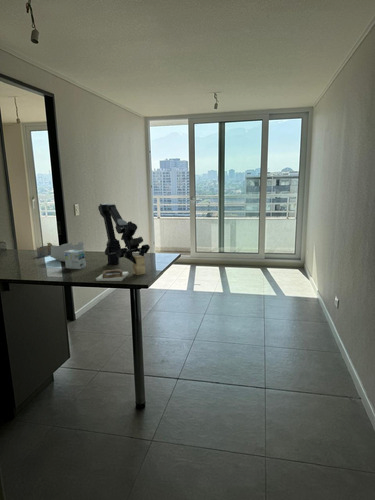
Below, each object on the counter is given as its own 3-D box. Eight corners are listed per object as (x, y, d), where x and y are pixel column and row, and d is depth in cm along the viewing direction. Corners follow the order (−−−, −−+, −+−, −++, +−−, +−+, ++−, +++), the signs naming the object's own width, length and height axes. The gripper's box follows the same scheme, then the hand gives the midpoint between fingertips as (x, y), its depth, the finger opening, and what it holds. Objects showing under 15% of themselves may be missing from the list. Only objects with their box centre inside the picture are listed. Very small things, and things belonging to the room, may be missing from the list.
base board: (96, 280, 175) (95, 278, 175) (105, 273, 189) (104, 271, 189) (121, 280, 174) (121, 278, 174) (128, 273, 187) (128, 271, 187)
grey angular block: (62, 264, 214) (60, 247, 212) (50, 260, 228) (48, 243, 225) (90, 259, 228) (89, 242, 226) (77, 255, 241) (75, 239, 239)
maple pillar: (133, 273, 188) (132, 256, 186) (140, 271, 191) (139, 255, 189) (137, 275, 184) (136, 257, 182) (145, 273, 187) (144, 256, 185)
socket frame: (102, 278, 175) (102, 275, 175) (103, 273, 185) (103, 270, 185) (122, 276, 177) (122, 274, 177) (122, 271, 187) (122, 269, 187)
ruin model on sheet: (51, 254, 249) (49, 242, 247) (53, 255, 248) (52, 242, 246) (37, 257, 240) (36, 244, 238) (40, 258, 238) (38, 245, 236)
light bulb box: (86, 266, 207) (84, 250, 205) (79, 269, 201) (78, 252, 198) (72, 265, 210) (70, 249, 208) (65, 268, 204) (63, 251, 202)
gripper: (118, 234, 180) (129, 257, 174) (147, 230, 191) (158, 251, 185) (113, 246, 188) (123, 268, 181) (141, 242, 199) (152, 263, 193)
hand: (139, 262), depth 185 cm, fingers closed on maple pillar, 5 cm apart
